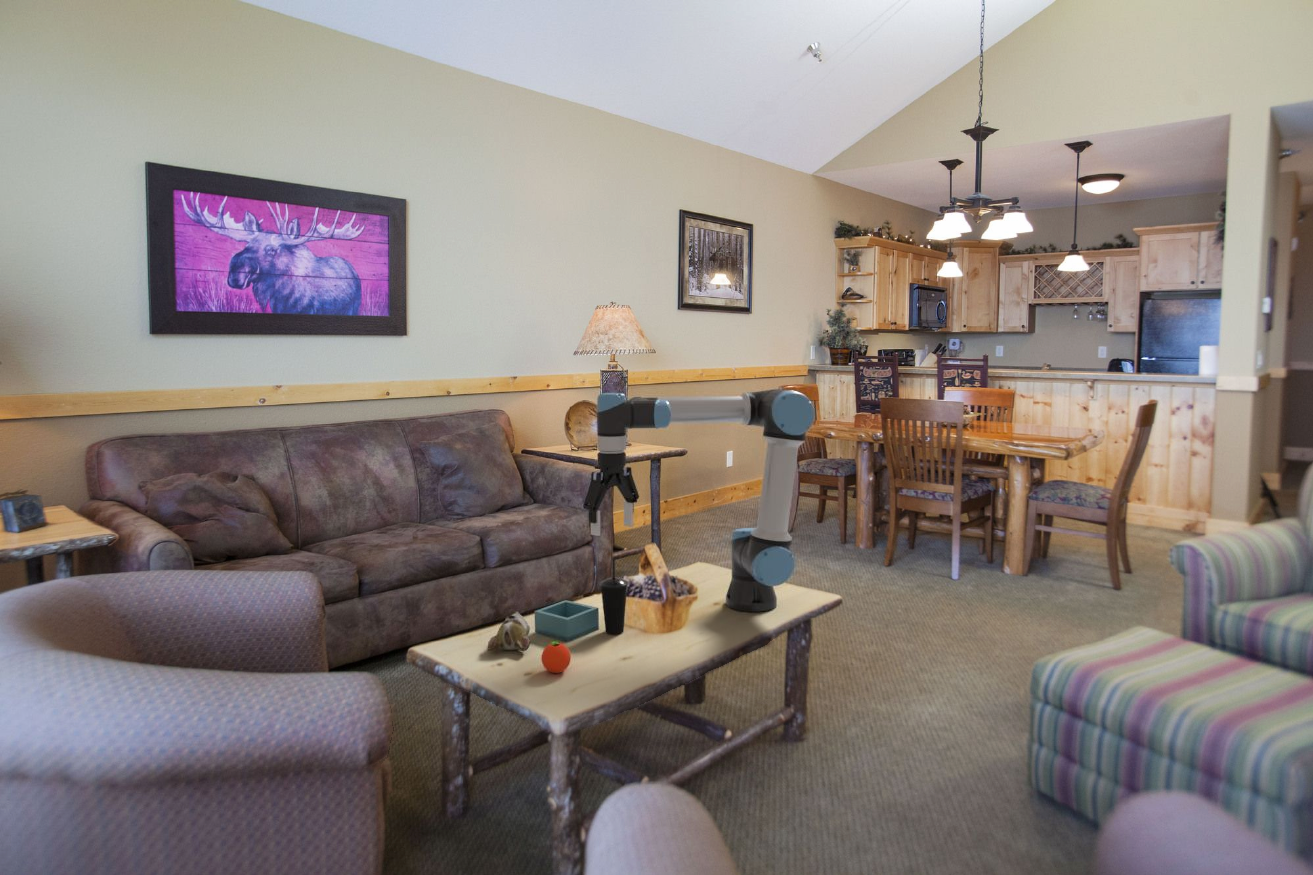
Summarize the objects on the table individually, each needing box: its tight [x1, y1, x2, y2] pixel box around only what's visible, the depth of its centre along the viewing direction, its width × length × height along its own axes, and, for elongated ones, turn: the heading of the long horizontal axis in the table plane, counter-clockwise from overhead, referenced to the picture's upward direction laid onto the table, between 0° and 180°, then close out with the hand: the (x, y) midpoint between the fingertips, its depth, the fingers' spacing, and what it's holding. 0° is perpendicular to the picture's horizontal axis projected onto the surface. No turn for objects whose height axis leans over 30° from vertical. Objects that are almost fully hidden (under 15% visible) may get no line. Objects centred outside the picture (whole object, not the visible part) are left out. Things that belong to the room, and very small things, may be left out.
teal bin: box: [534, 599, 600, 643], centre depth 219 cm, size 12×12×6 cm
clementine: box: [540, 641, 572, 674], centre depth 191 cm, size 8×7×7 cm
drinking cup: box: [599, 558, 629, 636], centre depth 217 cm, size 8×8×20 cm
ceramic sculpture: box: [486, 611, 531, 653], centre depth 207 cm, size 11×9×15 cm
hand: (612, 530), depth 216 cm, fingers open, 13 cm apart
